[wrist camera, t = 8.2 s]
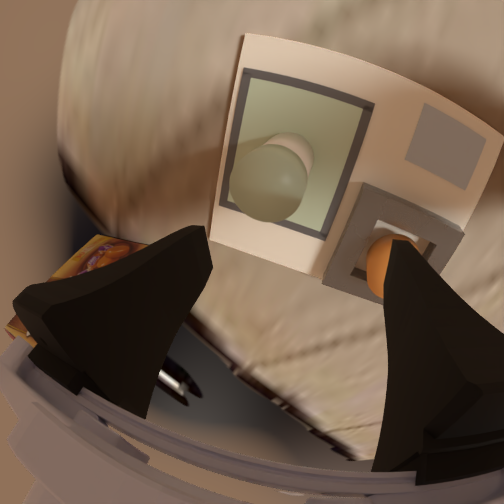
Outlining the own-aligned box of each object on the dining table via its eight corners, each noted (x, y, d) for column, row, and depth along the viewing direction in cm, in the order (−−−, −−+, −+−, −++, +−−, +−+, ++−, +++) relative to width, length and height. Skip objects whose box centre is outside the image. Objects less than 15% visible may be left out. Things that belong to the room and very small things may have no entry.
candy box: (106, 263, 30) (22, 354, 18) (97, 232, 28) (0, 323, 16) (167, 281, 28) (80, 399, 16) (160, 246, 26) (53, 370, 14)
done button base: (459, 225, 16) (464, 234, 15) (408, 304, 20) (410, 314, 19) (363, 181, 16) (364, 188, 16) (323, 274, 21) (321, 284, 20)
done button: (429, 246, 16) (436, 263, 15) (402, 288, 19) (405, 306, 17) (380, 225, 17) (383, 241, 15) (356, 271, 19) (356, 289, 18)
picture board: (502, 136, 11) (506, 137, 11) (409, 306, 21) (410, 310, 21) (247, 33, 13) (245, 32, 13) (211, 237, 23) (208, 240, 23)
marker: (321, 139, 16) (312, 165, 11) (307, 187, 18) (291, 232, 13) (269, 124, 16) (236, 143, 11) (258, 172, 18) (224, 209, 14)
